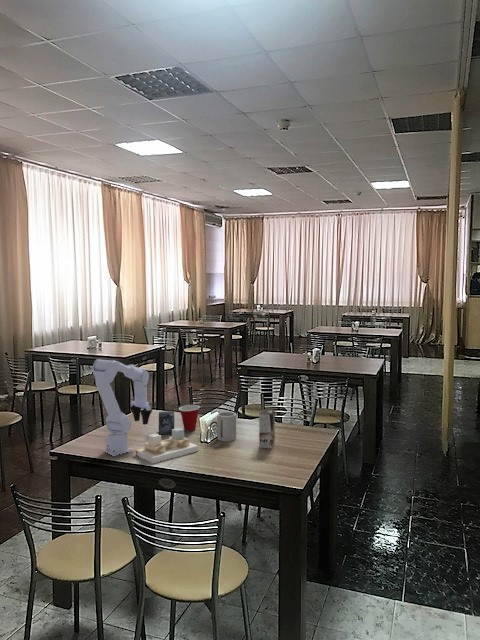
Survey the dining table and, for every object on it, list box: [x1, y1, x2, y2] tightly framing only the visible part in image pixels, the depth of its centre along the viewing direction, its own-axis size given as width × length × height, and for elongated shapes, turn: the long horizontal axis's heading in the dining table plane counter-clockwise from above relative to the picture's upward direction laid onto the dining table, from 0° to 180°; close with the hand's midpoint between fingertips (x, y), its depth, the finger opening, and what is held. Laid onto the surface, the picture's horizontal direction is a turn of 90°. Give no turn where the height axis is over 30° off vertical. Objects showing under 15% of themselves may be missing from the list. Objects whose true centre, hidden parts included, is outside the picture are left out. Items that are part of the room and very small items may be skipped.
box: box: [158, 410, 175, 435], centre depth 265 cm, size 8×6×11 cm
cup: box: [216, 411, 237, 442], centre depth 256 cm, size 9×9×12 cm
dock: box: [135, 441, 199, 464], centre depth 234 cm, size 24×14×2 cm, turn 132°
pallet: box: [143, 435, 190, 455], centre depth 234 cm, size 18×9×3 cm, turn 132°
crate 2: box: [171, 427, 185, 440], centre depth 238 cm, size 4×4×4 cm
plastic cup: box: [178, 404, 200, 431], centre depth 270 cm, size 11×11×12 cm
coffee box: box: [258, 408, 276, 449], centre depth 244 cm, size 9×6×16 cm
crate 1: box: [147, 433, 162, 446], centre depth 230 cm, size 4×4×4 cm
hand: (141, 422), depth 250 cm, fingers open, 7 cm apart
